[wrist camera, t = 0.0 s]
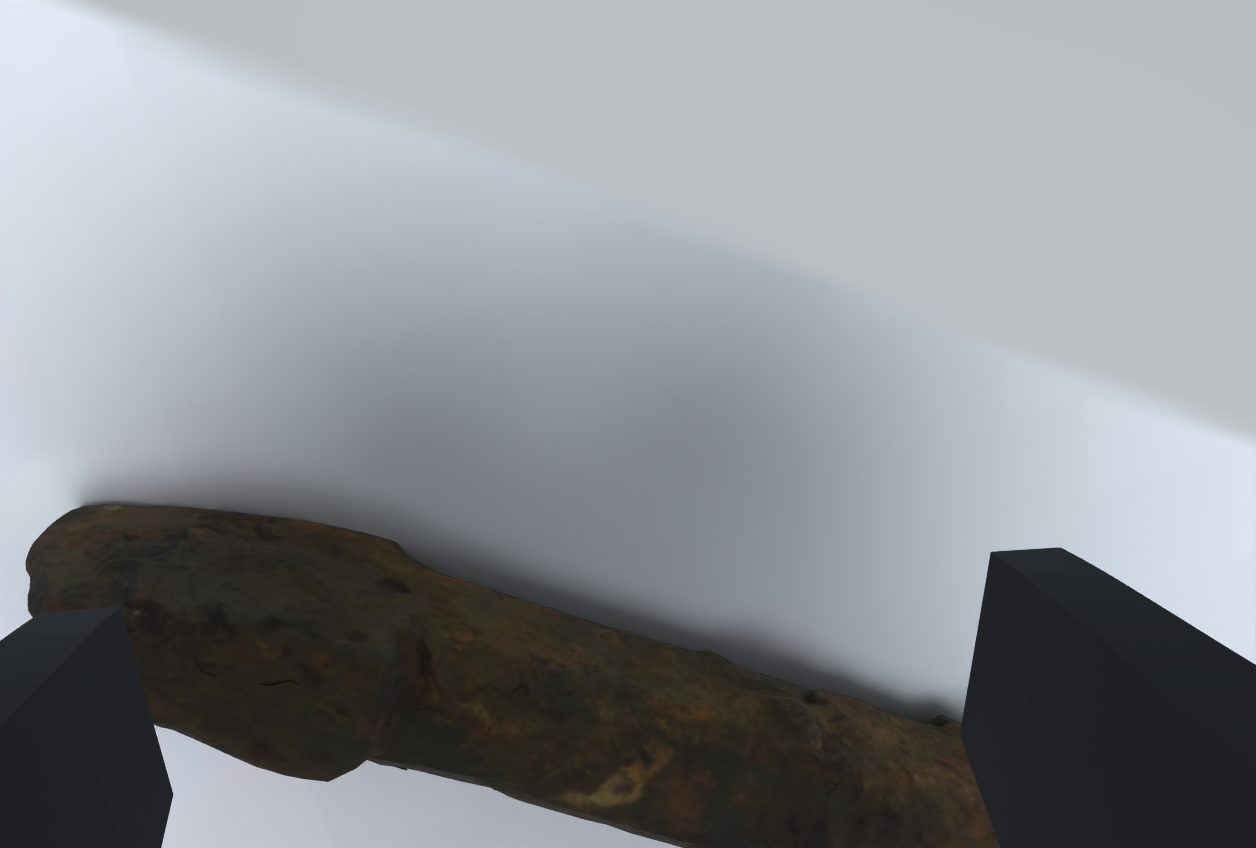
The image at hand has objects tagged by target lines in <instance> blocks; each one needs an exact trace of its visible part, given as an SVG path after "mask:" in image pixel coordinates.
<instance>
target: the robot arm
mask: <svg viewBox="0 0 1256 848" xmlns="http://www.w3.org/2000/svg"><path fill="white" fill-rule="evenodd" d="M960 736H961V739H962V742H963V745H964V748H965V751H966V754H967V757H968V759H969V762H970V765H971V768H972V771H973V774H974V777H975V780H976V783H977V786H978V788H979V791H980V794H981V797H982V800H983V802H984V805H985V807H986V810H987V813H988V815H989V818H990V821H991V823H992V826H993V829H994V831H995V834H996V837H997V839H998V842H999V844H1000V846H1001V848H1256V665H1255V664H1253V663H1252V662H1250V661H1248V660H1247V659H1245V658H1243V657H1242V656H1240V655H1239V654H1237V653H1235V652H1234V651H1232V650H1230V649H1229V648H1227V647H1226V646H1224V645H1222V644H1221V643H1219V642H1218V641H1216V640H1214V639H1213V638H1211V637H1209V636H1208V635H1206V634H1205V633H1203V632H1201V631H1200V630H1198V629H1197V628H1195V627H1193V626H1192V625H1190V624H1189V623H1187V622H1185V621H1184V620H1182V619H1181V618H1179V617H1177V616H1176V615H1174V614H1172V613H1171V612H1169V611H1168V610H1166V609H1164V608H1163V607H1161V606H1160V605H1158V604H1156V603H1155V602H1153V601H1152V600H1150V599H1148V598H1147V597H1145V596H1143V595H1142V594H1140V593H1139V592H1137V591H1135V590H1134V589H1132V588H1130V587H1129V586H1127V585H1125V584H1124V583H1122V582H1121V581H1119V580H1117V579H1116V578H1114V577H1112V576H1111V575H1109V574H1107V573H1106V572H1104V571H1102V570H1100V569H1099V568H1097V567H1095V566H1094V565H1092V564H1090V563H1088V562H1087V561H1085V560H1083V559H1081V558H1079V557H1077V556H1076V555H1074V554H1072V553H1070V552H1068V551H1066V550H1064V549H1062V548H1044V549H1028V550H1013V551H997V552H991V554H990V560H989V566H988V572H987V578H986V584H985V590H984V596H983V601H982V607H981V613H980V619H979V625H978V631H977V637H976V643H975V649H974V655H973V660H972V666H971V672H970V678H969V684H968V690H967V696H966V702H965V708H964V714H963V719H962V725H961V731H960ZM172 798H173V792H172V788H171V785H170V781H169V778H168V774H167V771H166V767H165V763H164V760H163V756H162V753H161V749H160V746H159V742H158V739H157V735H156V732H155V728H154V725H153V721H152V718H151V714H150V711H149V707H148V704H147V700H146V696H145V693H144V689H143V686H142V682H141V679H140V675H139V672H138V668H137V665H136V661H135V658H134V654H133V651H132V647H131V644H130V640H129V637H128V633H127V629H126V626H125V622H124V619H123V615H122V612H121V608H120V607H112V608H96V609H80V610H64V611H48V612H41V613H40V614H38V615H37V616H35V617H34V618H32V619H31V620H29V621H28V622H26V623H25V624H23V625H22V626H20V627H19V628H17V629H16V630H15V631H13V632H12V633H10V634H9V635H8V636H6V637H5V638H4V639H2V640H1V641H0V848H161V846H162V842H163V837H164V833H165V829H166V824H167V820H168V815H169V811H170V807H171V802H172Z"/></svg>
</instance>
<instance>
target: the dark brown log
mask: <svg viewBox="0 0 1256 848" xmlns="http://www.w3.org/2000/svg"><path fill="white" fill-rule="evenodd" d="M26 571H27V573H28V574H29V576H30V589H29V593H28V611H29V612H30V614H31V616H32V617H33V618H34V617H35V616H37V615H38V614H40V613H41V612H48V611H64V610H80V609H96V608H112V607H120V608H121V612H122V615H123V619H124V622H125V626H126V629H127V633H128V637H129V640H130V644H131V647H132V651H133V654H134V658H135V661H136V665H137V668H138V672H139V675H140V679H141V682H142V686H143V689H144V693H145V696H146V700H147V704H148V707H149V711H150V714H151V718H152V721H153V724H154V725H156V726H159V727H163V728H168V729H172V730H175V731H177V732H179V733H181V734H184V735H186V736H188V737H191V738H193V739H195V740H198V741H200V742H202V743H204V744H207V745H209V746H211V747H213V748H215V749H218V750H220V751H222V752H224V753H226V754H228V755H231V756H233V757H235V758H237V759H239V760H242V761H244V762H246V763H249V764H251V765H253V766H256V767H259V768H262V769H265V770H269V771H272V772H275V773H279V774H282V775H286V776H291V777H296V778H302V779H309V780H317V781H326V782H329V781H331V780H333V779H335V778H337V777H339V776H341V775H344V774H346V773H348V772H350V771H352V770H354V769H356V768H357V767H358V766H360V765H361V764H362V763H363V762H365V761H366V760H369V761H372V762H374V763H377V764H380V765H386V766H394V767H397V768H400V769H403V770H407V769H412V770H417V771H421V772H426V773H430V774H434V775H438V776H442V777H446V778H450V779H454V780H458V781H462V782H467V783H471V784H476V785H481V786H486V787H490V788H492V789H494V790H497V791H499V792H501V793H503V794H505V795H507V796H509V797H512V798H514V799H517V800H520V801H523V802H526V803H529V804H533V805H536V806H540V807H543V808H547V809H550V810H554V811H557V812H561V813H564V814H567V815H571V816H574V817H578V818H581V819H585V820H589V821H594V822H598V823H602V824H607V825H609V826H612V827H615V828H618V829H620V830H623V831H626V832H629V833H632V834H636V835H639V836H643V837H647V838H650V839H654V840H658V841H661V842H665V843H669V844H672V845H676V846H679V847H683V848H1001V846H1000V844H999V842H998V839H997V837H996V834H995V831H994V829H993V826H992V823H991V821H990V818H989V815H988V813H987V810H986V807H985V805H984V802H983V800H982V797H981V794H980V791H979V788H978V786H977V783H976V780H975V777H974V774H973V771H972V768H971V765H970V762H969V759H968V757H967V754H966V751H965V748H964V745H963V742H962V739H961V736H960V731H961V724H959V723H958V722H956V721H954V720H952V719H950V718H948V717H945V716H943V715H940V716H937V717H936V718H935V719H933V720H932V721H930V722H929V723H928V724H927V723H923V722H918V721H915V720H912V719H909V718H906V717H902V716H898V715H894V714H890V713H887V712H883V711H881V710H880V709H878V708H876V707H874V706H872V705H870V704H868V703H865V702H863V701H861V700H859V699H856V698H852V697H848V696H843V695H839V694H835V693H832V692H830V691H828V690H826V689H823V690H815V691H811V690H808V689H805V688H802V687H799V686H796V685H793V684H789V683H786V682H783V681H780V680H777V679H774V678H771V677H768V676H765V675H761V674H757V673H753V672H751V671H748V670H746V669H743V668H741V667H738V666H735V665H733V664H732V663H730V662H729V661H728V660H726V659H725V658H723V657H722V656H720V655H718V654H715V653H713V652H711V651H708V650H706V651H698V652H694V651H690V650H687V649H683V648H679V647H676V646H672V645H669V644H665V643H661V642H658V641H654V640H652V639H649V638H646V637H643V636H641V635H638V634H635V633H632V632H629V631H624V630H618V629H614V628H611V627H607V626H604V625H601V624H598V623H594V622H591V621H588V620H585V619H582V618H578V617H575V616H572V615H569V614H566V613H563V612H560V611H557V610H554V609H551V608H547V607H544V606H540V605H537V604H534V603H530V602H527V601H523V600H520V599H518V598H515V597H512V596H509V595H506V594H503V593H500V592H497V591H494V590H491V589H488V588H485V587H482V586H479V585H475V584H472V583H469V582H465V581H462V580H459V579H455V578H452V577H449V576H445V575H442V574H439V573H438V572H436V571H434V570H432V569H430V568H429V567H427V566H425V565H423V564H421V563H419V562H417V561H415V560H413V559H411V558H410V557H408V556H406V555H405V553H404V552H403V551H402V549H401V548H400V547H399V545H398V544H397V543H396V542H393V541H390V540H387V539H384V538H381V537H377V536H373V535H370V534H365V533H361V532H357V531H353V530H349V529H345V528H339V527H334V526H329V525H324V524H318V523H313V522H308V521H303V520H295V519H286V518H277V517H268V516H260V515H252V514H243V513H234V512H224V511H214V510H204V509H191V508H178V507H138V506H120V505H107V504H103V505H91V506H83V507H80V508H77V509H74V510H71V511H69V512H68V513H66V514H65V515H63V516H62V517H60V518H59V519H58V520H56V521H55V522H54V523H52V524H51V525H50V526H49V527H48V528H47V529H46V530H45V531H44V532H43V533H42V534H41V535H40V536H39V537H38V538H37V539H36V541H35V542H34V543H33V545H32V547H31V548H30V550H29V553H28V555H27V558H26Z"/></svg>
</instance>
